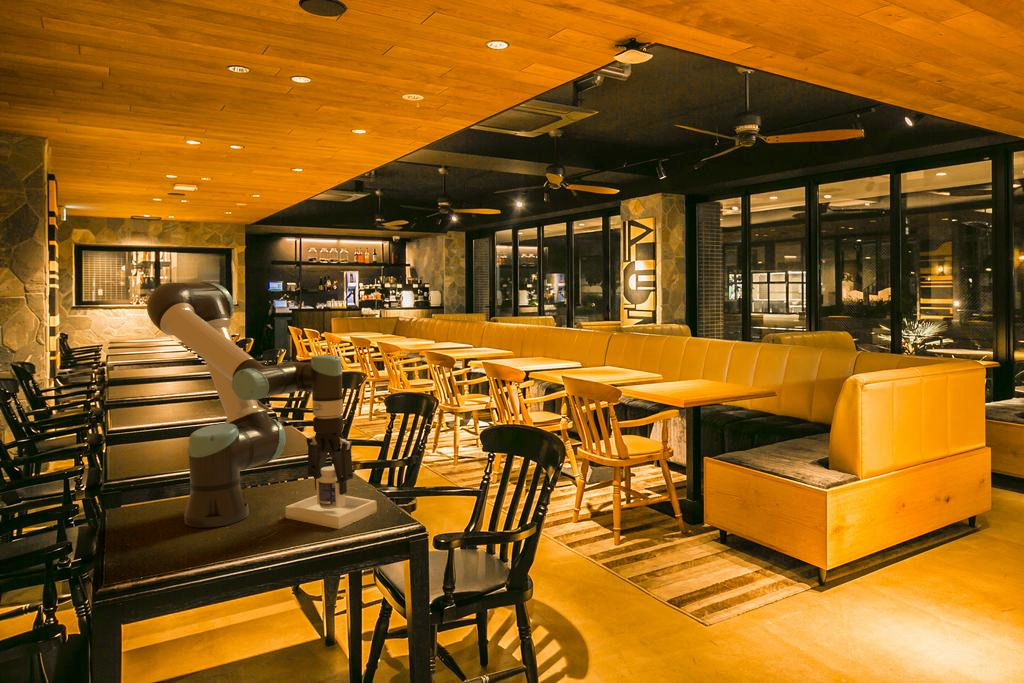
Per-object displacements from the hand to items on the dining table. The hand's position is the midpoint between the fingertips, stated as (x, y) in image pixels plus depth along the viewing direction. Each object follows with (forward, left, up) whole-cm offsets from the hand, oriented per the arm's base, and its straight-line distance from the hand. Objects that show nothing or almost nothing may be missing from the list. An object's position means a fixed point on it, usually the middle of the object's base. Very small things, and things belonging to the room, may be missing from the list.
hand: (331, 504), depth 175 cm
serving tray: (0, 0, -3) cm, 3 cm away
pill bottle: (0, 0, -1) cm, 1 cm away
